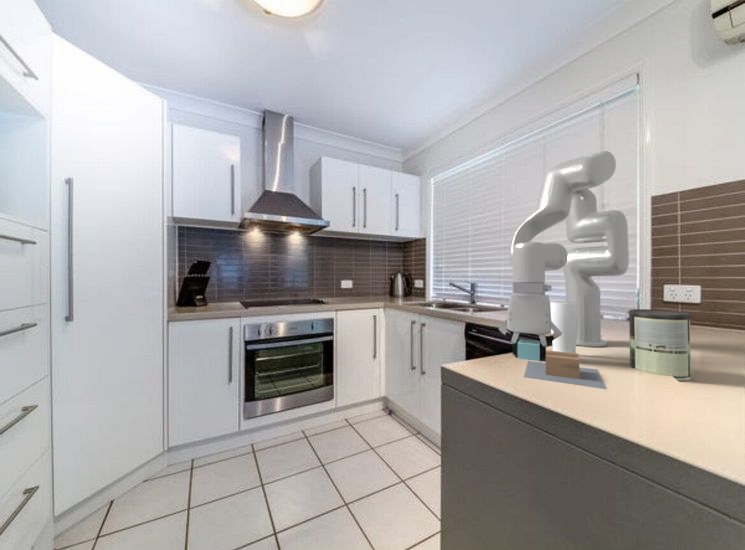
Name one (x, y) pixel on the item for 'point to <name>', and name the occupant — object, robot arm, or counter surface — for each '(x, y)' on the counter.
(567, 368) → the walnut base
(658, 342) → the coffee can
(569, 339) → the white cup
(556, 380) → the plate
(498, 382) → the counter surface
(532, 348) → the teal block
